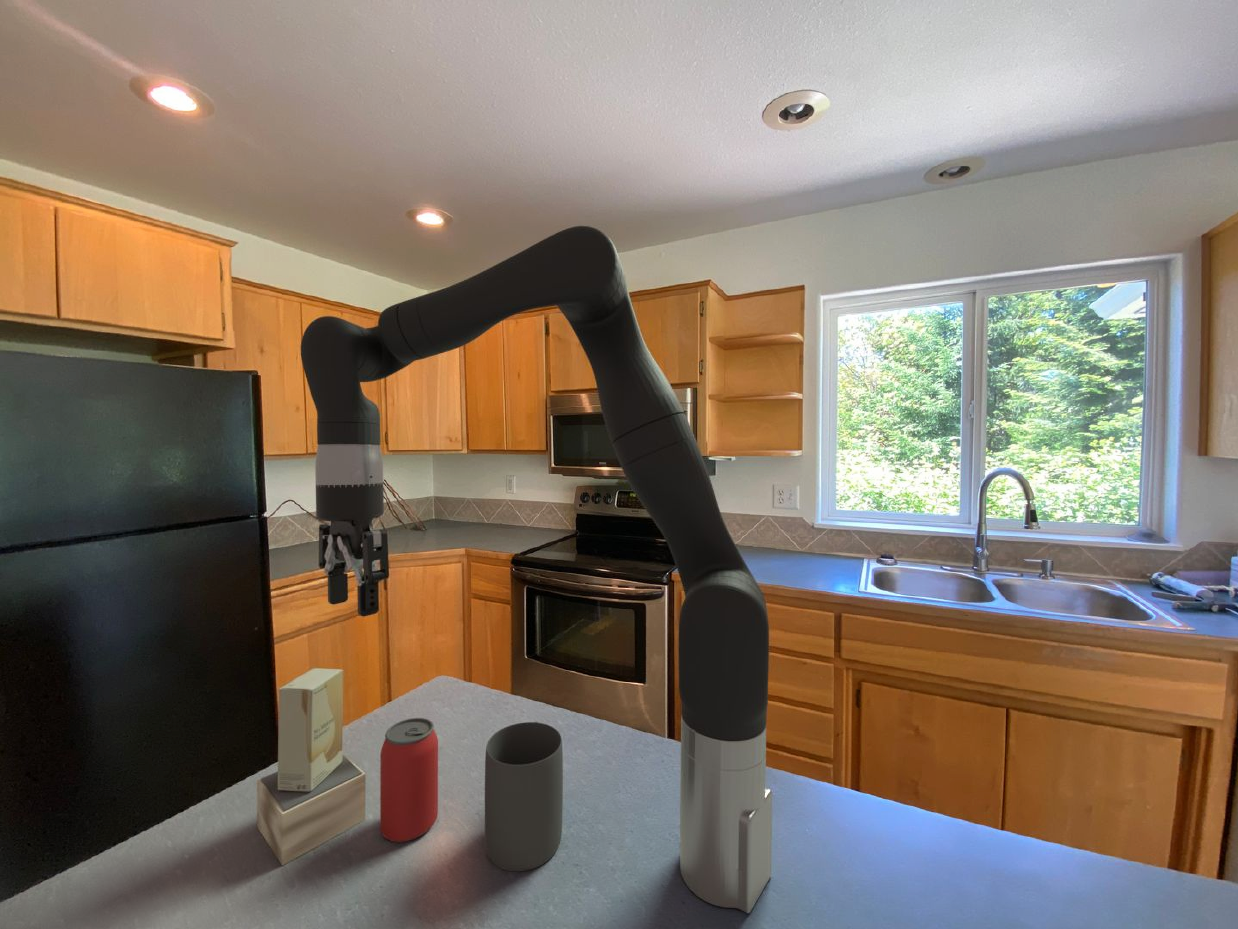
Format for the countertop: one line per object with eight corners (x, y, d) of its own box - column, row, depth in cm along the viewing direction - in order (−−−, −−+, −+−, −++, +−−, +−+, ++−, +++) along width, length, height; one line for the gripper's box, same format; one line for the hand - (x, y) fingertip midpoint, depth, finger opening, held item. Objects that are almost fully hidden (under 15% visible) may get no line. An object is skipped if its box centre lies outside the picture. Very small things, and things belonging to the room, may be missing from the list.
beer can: (417, 850, 57) (417, 748, 57) (367, 840, 58) (368, 741, 58) (448, 810, 63) (448, 718, 63) (403, 802, 64) (403, 712, 64)
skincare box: (310, 794, 57) (310, 691, 57) (275, 792, 58) (275, 689, 57) (345, 760, 64) (345, 667, 64) (313, 758, 64) (313, 666, 64)
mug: (557, 874, 54) (557, 767, 53) (474, 873, 54) (474, 766, 53) (570, 790, 67) (570, 704, 67) (504, 789, 67) (504, 703, 67)
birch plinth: (365, 819, 61) (365, 772, 61) (282, 865, 54) (282, 812, 54) (335, 788, 67) (335, 745, 67) (257, 827, 60) (257, 779, 60)
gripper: (408, 480, 60) (410, 611, 60) (355, 479, 69) (357, 593, 69) (343, 483, 54) (346, 628, 54) (295, 481, 63) (297, 606, 63)
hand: (352, 608), depth 62 cm, fingers open, 8 cm apart
